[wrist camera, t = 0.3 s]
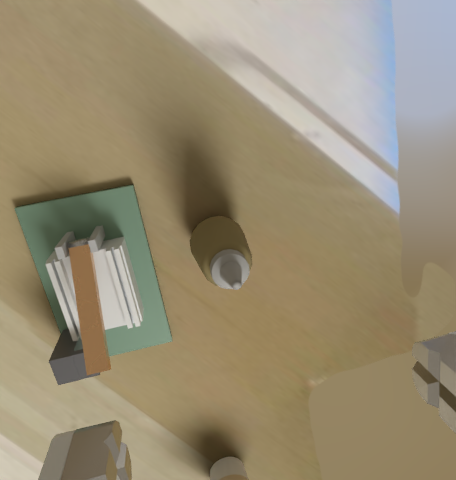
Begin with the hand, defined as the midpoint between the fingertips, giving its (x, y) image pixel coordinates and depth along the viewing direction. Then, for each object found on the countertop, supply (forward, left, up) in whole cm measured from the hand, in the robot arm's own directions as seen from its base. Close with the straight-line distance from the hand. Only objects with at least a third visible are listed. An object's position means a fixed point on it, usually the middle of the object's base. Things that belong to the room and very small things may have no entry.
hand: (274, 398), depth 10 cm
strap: (+14, -15, -38) cm, 43 cm away
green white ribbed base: (+13, -15, -47) cm, 51 cm away
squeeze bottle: (+11, +3, -47) cm, 49 cm away
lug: (+23, -20, -46) cm, 55 cm away
